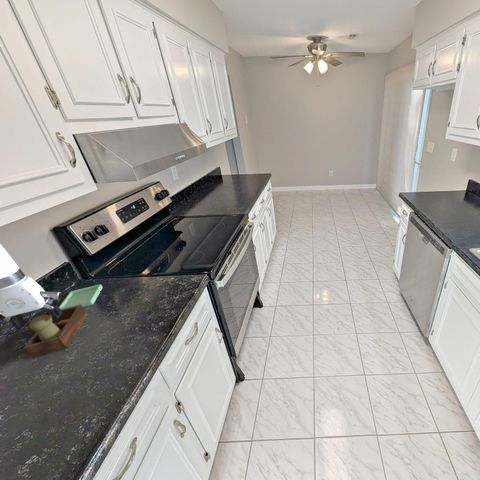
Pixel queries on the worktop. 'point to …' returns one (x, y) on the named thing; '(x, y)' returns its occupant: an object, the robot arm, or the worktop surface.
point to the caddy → (68, 327)
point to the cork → (44, 327)
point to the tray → (81, 297)
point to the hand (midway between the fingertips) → (40, 321)
